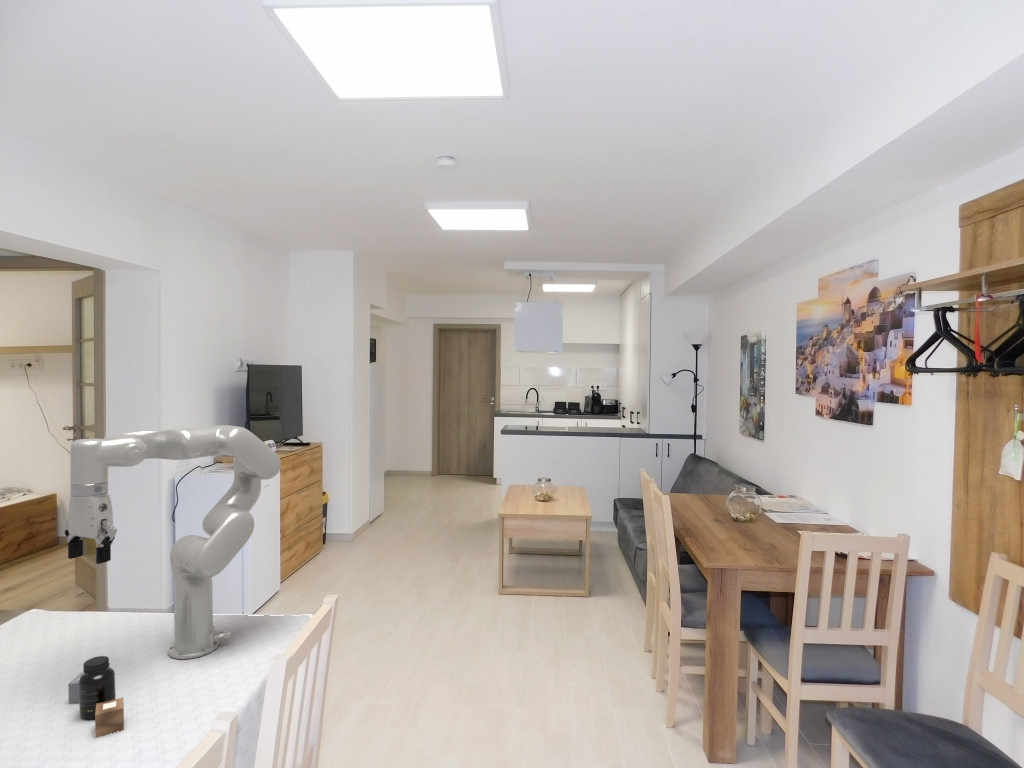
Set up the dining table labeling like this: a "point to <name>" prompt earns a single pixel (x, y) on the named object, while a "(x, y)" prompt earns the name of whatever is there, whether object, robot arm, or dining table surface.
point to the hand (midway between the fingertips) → (89, 559)
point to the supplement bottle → (95, 685)
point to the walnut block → (109, 717)
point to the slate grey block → (74, 690)
